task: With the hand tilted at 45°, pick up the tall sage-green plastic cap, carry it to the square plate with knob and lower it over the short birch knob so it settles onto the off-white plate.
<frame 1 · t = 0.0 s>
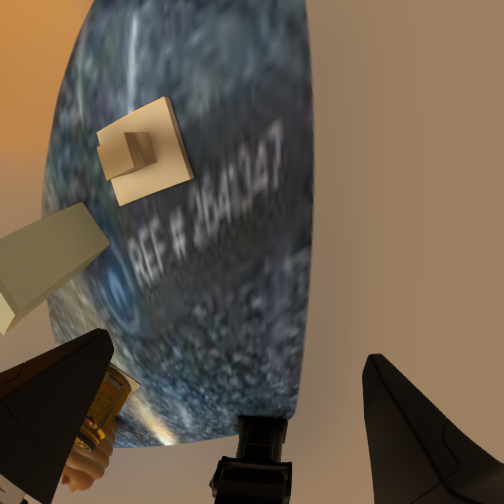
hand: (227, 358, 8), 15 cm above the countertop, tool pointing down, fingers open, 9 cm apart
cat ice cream: (110, 414, 38), on the countertop
condiment: (109, 375, 33), on the countertop
cap: (83, 236, 25), on the countertop
square plate with knob: (144, 152, 21), on the countertop
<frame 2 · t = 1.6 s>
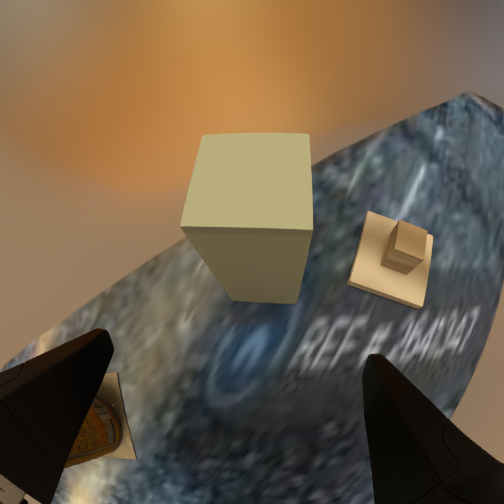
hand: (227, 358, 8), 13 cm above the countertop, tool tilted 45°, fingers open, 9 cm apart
condiment: (97, 416, 20), on the countertop
cap: (266, 272, 24), on the countertop
square plate with knob: (392, 261, 23), on the countertop
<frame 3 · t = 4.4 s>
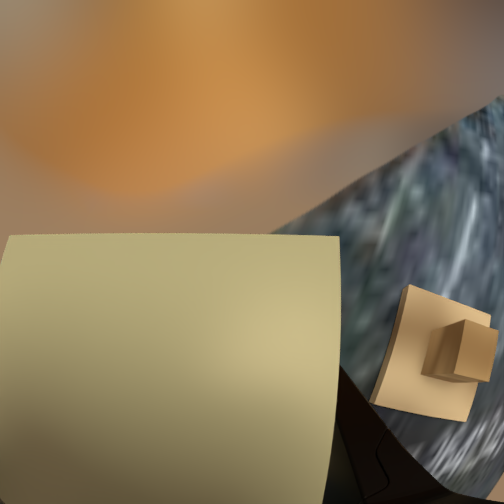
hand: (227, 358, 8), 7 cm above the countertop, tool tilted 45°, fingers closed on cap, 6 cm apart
cap: (247, 386, 14), on the countertop, touching gripper
square plate with knob: (435, 358, 13), on the countertop
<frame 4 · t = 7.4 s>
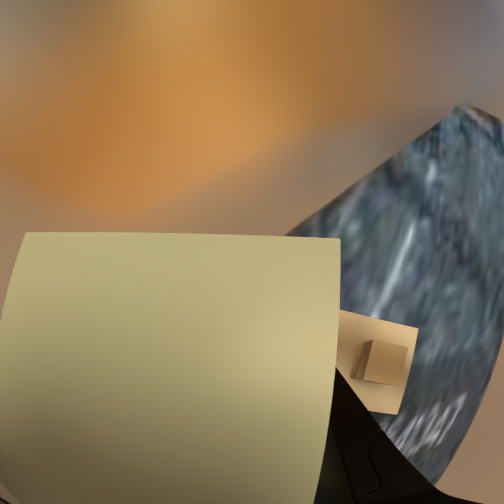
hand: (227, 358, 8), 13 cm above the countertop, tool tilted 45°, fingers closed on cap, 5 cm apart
cap: (256, 388, 14), point 6 cm above the countertop, touching gripper
square plate with knob: (366, 364, 19), on the countertop
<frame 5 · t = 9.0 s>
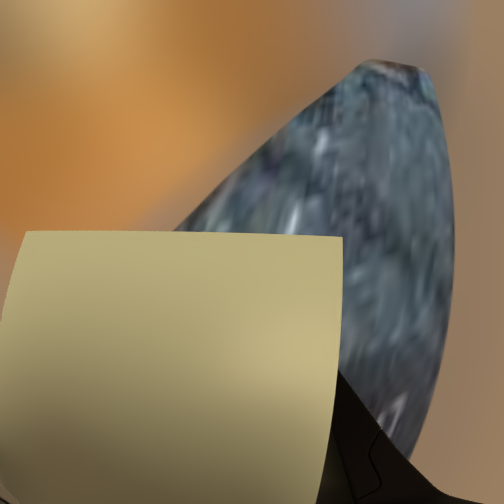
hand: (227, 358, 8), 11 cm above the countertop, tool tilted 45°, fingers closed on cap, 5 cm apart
cap: (256, 388, 14), point 4 cm above the countertop, touching gripper
when the fingers open (9 cm above the countertop, at t = 10.4 s): cap stays where it is, resting on square plate with knob.
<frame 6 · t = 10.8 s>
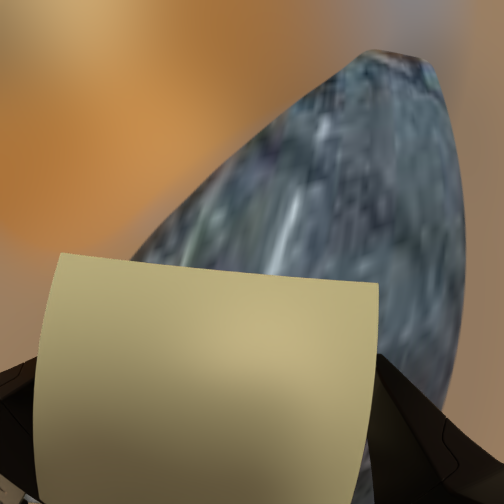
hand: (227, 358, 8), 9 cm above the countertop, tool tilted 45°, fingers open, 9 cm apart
cap: (253, 385, 15), point 1 cm above the countertop, touching square plate with knob
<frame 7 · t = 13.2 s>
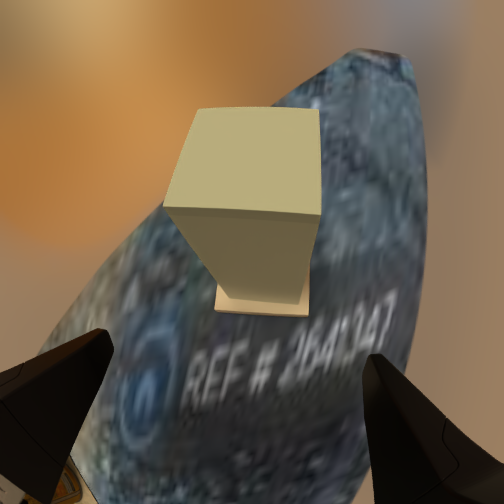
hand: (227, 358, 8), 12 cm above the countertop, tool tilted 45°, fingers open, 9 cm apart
condiment: (60, 472, 16), on the countertop
cap: (267, 269, 22), point 1 cm above the countertop, touching square plate with knob
square plate with knob: (265, 272, 23), on the countertop
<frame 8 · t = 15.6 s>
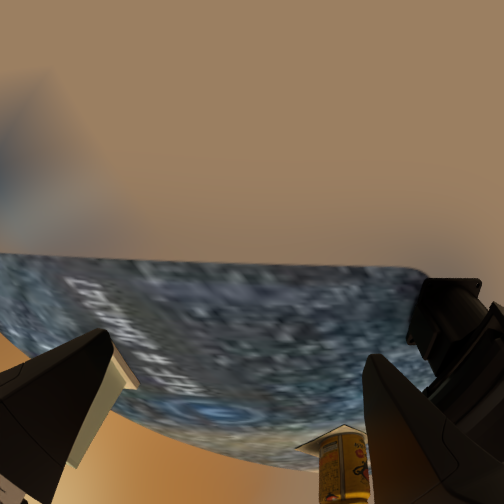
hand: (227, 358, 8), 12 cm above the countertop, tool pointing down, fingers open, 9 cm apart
condiment: (335, 443, 29), on the countertop
cap: (100, 365, 27), point 1 cm above the countertop, touching square plate with knob
square plate with knob: (104, 361, 28), on the countertop
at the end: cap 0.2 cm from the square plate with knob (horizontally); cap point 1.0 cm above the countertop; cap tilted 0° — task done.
